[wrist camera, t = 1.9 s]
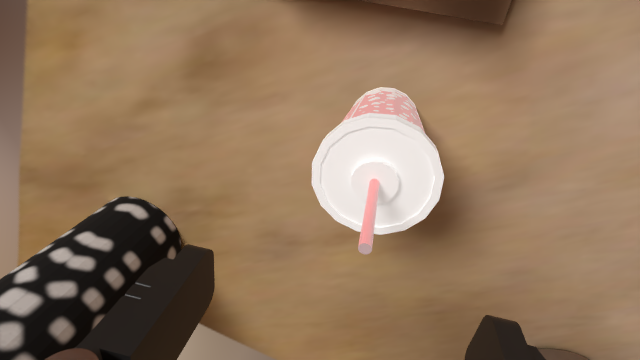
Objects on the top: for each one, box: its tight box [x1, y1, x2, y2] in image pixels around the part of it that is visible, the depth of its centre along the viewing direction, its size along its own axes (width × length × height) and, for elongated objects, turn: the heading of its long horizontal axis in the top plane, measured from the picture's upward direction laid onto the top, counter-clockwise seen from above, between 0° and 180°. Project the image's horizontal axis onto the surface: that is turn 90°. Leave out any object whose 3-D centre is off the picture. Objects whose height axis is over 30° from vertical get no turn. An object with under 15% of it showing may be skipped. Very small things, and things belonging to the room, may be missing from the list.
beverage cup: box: [312, 87, 444, 254], centre depth 18 cm, size 6×6×14 cm
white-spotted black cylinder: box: [0, 197, 181, 360], centre depth 25 cm, size 8×8×20 cm
